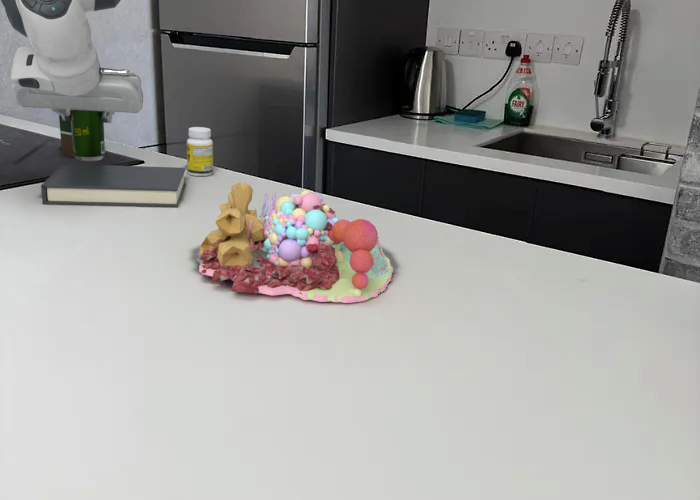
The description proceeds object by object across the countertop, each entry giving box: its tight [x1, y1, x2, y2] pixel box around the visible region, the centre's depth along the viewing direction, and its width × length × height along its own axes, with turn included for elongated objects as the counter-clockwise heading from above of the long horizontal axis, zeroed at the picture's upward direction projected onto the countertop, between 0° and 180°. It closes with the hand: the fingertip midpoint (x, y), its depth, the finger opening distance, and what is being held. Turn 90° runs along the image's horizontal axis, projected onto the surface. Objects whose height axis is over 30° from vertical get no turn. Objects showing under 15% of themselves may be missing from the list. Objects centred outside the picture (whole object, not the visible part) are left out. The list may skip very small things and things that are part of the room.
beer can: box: [70, 110, 106, 162], centre depth 120 cm, size 5×5×12 cm
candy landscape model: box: [195, 182, 395, 304], centre depth 86 cm, size 25×24×9 cm
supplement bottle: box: [186, 126, 214, 177], centre depth 126 cm, size 5×5×8 cm
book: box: [40, 163, 186, 208], centre depth 111 cm, size 20×14×3 cm
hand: (87, 118), depth 120 cm, fingers closed on beer can, 5 cm apart
